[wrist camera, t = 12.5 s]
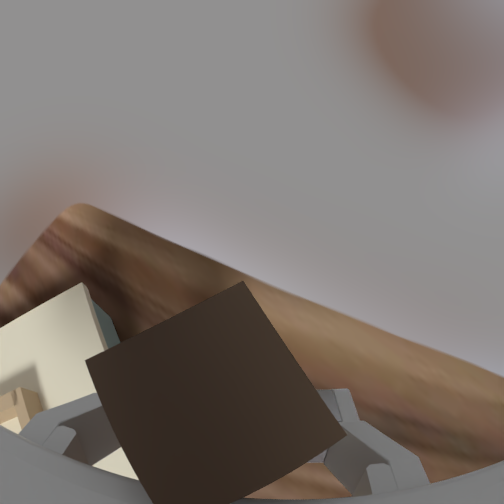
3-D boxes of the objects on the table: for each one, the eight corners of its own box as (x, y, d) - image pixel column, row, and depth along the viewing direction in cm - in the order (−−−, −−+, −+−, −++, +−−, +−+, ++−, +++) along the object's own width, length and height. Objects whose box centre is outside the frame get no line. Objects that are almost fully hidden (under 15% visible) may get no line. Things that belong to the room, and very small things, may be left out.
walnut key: (247, 385, 15) (243, 281, 5) (277, 432, 14) (347, 435, 4) (196, 411, 15) (85, 360, 4) (225, 460, 13) (169, 527, 3)
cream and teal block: (112, 313, 25) (69, 268, 19) (188, 470, 19) (157, 487, 12) (-42, 393, 19) (-93, 371, 13) (1, 521, 13) (-54, 526, 6)
